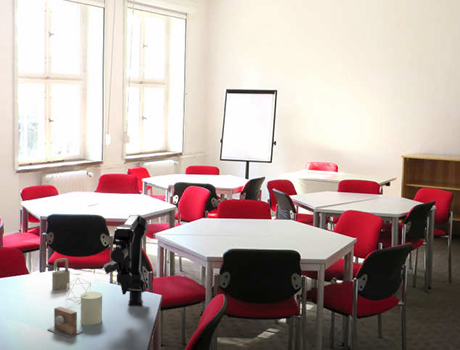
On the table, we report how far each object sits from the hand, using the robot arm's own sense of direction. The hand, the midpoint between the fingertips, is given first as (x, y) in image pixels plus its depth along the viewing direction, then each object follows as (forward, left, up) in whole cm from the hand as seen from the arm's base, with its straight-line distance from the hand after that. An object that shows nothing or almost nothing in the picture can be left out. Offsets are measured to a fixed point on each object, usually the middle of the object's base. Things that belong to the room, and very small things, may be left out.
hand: (123, 290), depth 252 cm
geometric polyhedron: (-27, -23, -14) cm, 37 cm away
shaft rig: (+12, -23, -13) cm, 29 cm away
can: (+1, -14, -13) cm, 19 cm away
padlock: (-45, -34, -13) cm, 57 cm away
